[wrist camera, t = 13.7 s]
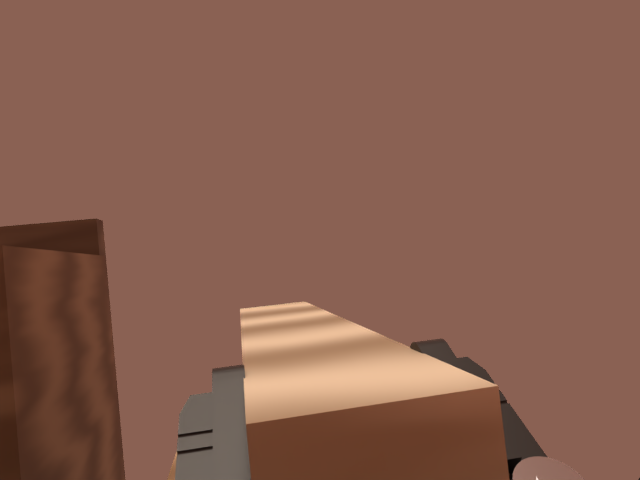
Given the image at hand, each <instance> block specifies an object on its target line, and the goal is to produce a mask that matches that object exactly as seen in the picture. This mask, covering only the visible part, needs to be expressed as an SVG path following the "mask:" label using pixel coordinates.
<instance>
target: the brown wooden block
mask: <svg viewBox="0 0 640 480" xmlns="http://www.w3.org/2000/svg"><path fill="white" fill-rule="evenodd" d="M240 317H241V337H242V356H243V357H242V358H243V365H244V368H245V378H244V397H245V417H246V431H247V442H248V452H249V463H250V473H251V480H509V471H508V463H507V455H506V446H505V438H504V429H503V421H502V413H501V404H500V396H499V387H498V385H496V384H493V383H491V382H489V381H486V380H484V379H482V378H479V377H477V376H475V375H473V374H470V373H468V372H466V371H463V370H461V369H459V368H456V367H454V366H452V365H450V364H447V363H445V362H443V361H440V360H438V359H436V358H433V357H431V356H429V355H427V354H422V353H420V352H418V351H415V350H413V349H411V348H410V347H408V346H406V345H403V344H401V343H399V342H396V341H394V340H392V339H390V338H387V337H385V336H383V335H380V334H378V333H376V332H374V331H371V330H369V329H367V328H364V327H362V326H360V325H357V324H355V323H353V322H351V321H348V320H346V319H344V318H341V317H339V316H337V315H334V314H332V313H330V312H328V311H325V310H323V309H321V308H318V307H316V306H314V305H311V304H309V303H307V302H297V303H288V304H279V305H271V306H262V307H254V308H245V309H240Z"/></svg>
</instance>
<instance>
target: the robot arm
mask: <svg viewBox="0 0 640 480" xmlns="http://www.w3.org/2000/svg"><path fill="white" fill-rule="evenodd" d="M410 348H411V349H413V350H415V351H418V352H420V353H422V354H427V355H429V356H431V357H433V358H436V359H438V360H440V361H443V362H445V363H447V364H450V365H452V366H454V367H456V368H459V369H461V370H463V371H466V372H468V373H470V374H473V375H475V376H477V377H479V378H482V379H484V380H486V381H489V382H491V383H493V384H495V383H494V382H493V380H492V379H491V377H490V376H489V374H488V373H487V372H486V370H485V369H483V368H482V367H480V366H479V365H478V364H476V363H475V362H474V361H472V360H471V359H469V358H468V357H463V358H456V356H455V355H454V353H453V352H452V350H451V348H450V347H449V345H448V344H447V342H446V341H445V340H444V339H435V340H427V341H420V342H413V343H412V344H411V346H410ZM212 373H213V374H212V382H213V383H212V392H211V393H204V394H197V395H191V396H190V397H189V399H188V400H187V402H186V404H185V406H184V407H183V409H182V411H181V413H180V415H179V430H178V443H177V457H176V471H175V480H251V473H250V463H249V452H248V442H247V431H246V417H245V397H244V378H245V368H244V365H237V366H229V367H222V368H215V369H213V371H212ZM499 396H500V404H501V413H502V421H503V429H504V438H505V446H506V455H507V463H508V471H509V480H584V479H583V478H582V477H581V476H580V475H579V473H577V472H576V471H575V470H574V469H572V468H571V467H569V466H568V465H566V464H564V463H562V462H560V461H558V460H555V459H552V458H548V457H547V456H546V455H545V453H544V452H543V450H542V449H541V448H540V446H539V445H538V443H537V442H536V441H535V439H534V438H533V436H532V435H531V434H530V432H529V431H528V429H527V428H526V427H525V425H524V424H523V422H522V421H521V419H520V418H519V417H518V416H517V414H516V412H515V411H514V410H513V408H512V407H511V406H510V404H508V403H507V400H506V399H505V397H504V396H503V394H502V393H501V391H500V390H499ZM639 480H640V478H639Z"/></svg>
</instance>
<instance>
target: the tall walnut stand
mask: <svg viewBox="0 0 640 480" xmlns="http://www.w3.org/2000/svg"><path fill="white" fill-rule="evenodd" d="M0 480H125V471H124V460H123V449H122V437H121V427H120V414H119V404H118V392H117V381H116V369H115V358H114V347H113V335H112V324H111V312H110V301H109V289H108V278H107V267H106V255H105V243H104V232H103V222H102V221H101V220H99V219H86V220H75V221H63V222H53V223H40V224H28V225H16V226H4V227H0Z"/></svg>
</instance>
